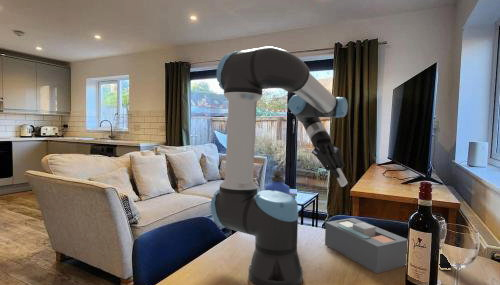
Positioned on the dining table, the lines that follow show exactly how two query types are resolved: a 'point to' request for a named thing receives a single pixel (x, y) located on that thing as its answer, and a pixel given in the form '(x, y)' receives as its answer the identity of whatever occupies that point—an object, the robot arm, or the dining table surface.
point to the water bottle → (278, 184)
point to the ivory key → (347, 224)
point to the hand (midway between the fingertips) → (344, 184)
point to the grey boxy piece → (366, 246)
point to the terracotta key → (382, 239)
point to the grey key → (365, 229)
